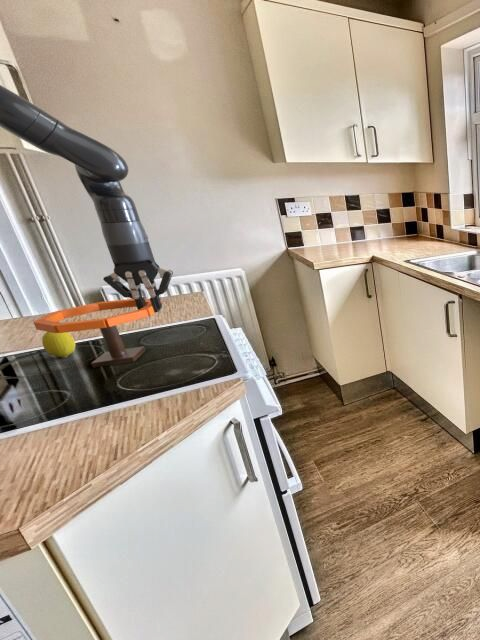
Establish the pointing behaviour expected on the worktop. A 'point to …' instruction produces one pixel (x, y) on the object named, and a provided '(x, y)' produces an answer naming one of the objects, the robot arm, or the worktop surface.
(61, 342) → the lemon
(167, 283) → the robot arm
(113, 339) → the post
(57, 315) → the ring
